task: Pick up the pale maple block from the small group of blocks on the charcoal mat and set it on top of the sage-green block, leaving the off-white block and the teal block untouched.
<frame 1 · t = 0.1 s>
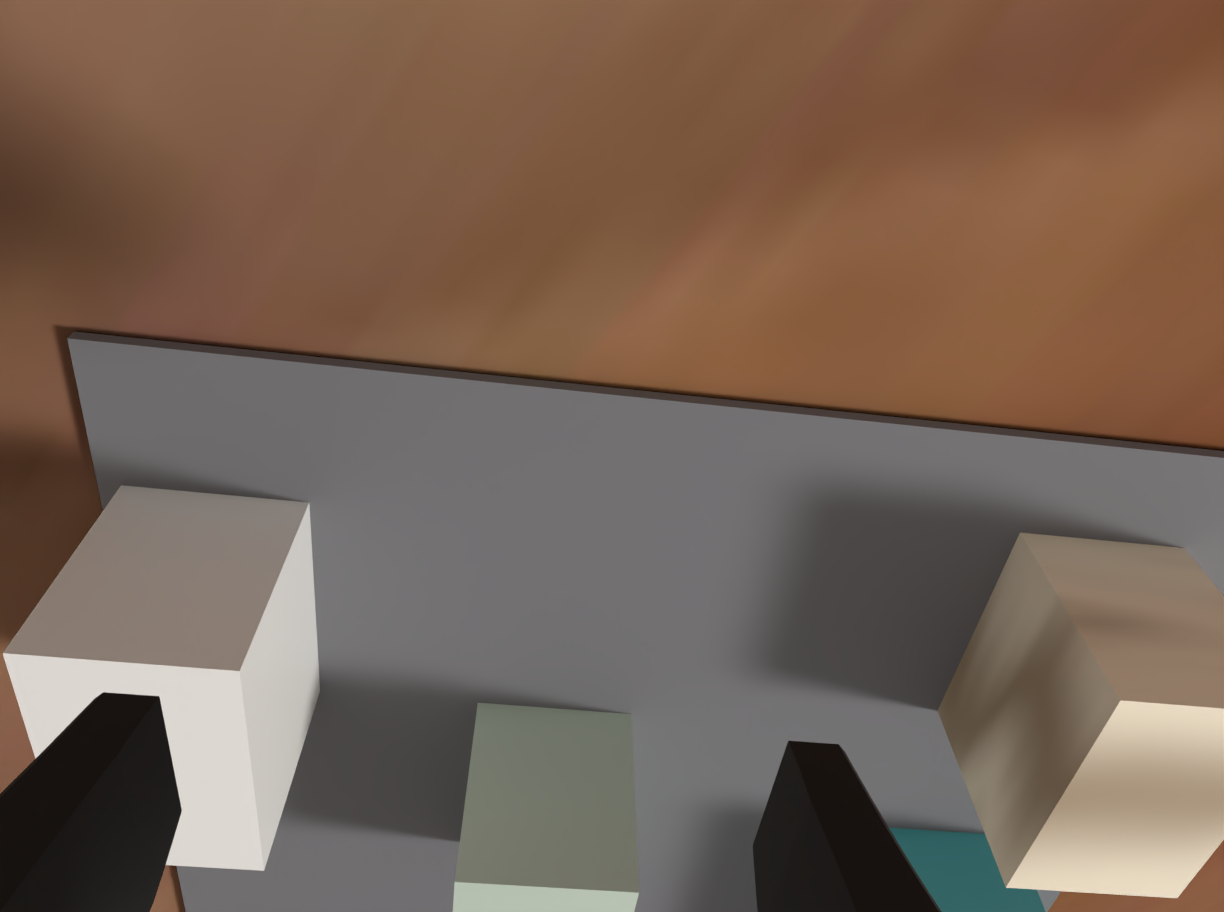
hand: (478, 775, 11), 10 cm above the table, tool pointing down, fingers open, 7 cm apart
white block: (228, 596, 23), resting on mat
mat: (662, 733, 26), on the table
sage block: (544, 782, 26), resting on mat
teal block: (918, 890, 30), resting on mat
maple block: (1053, 634, 24), resting on mat
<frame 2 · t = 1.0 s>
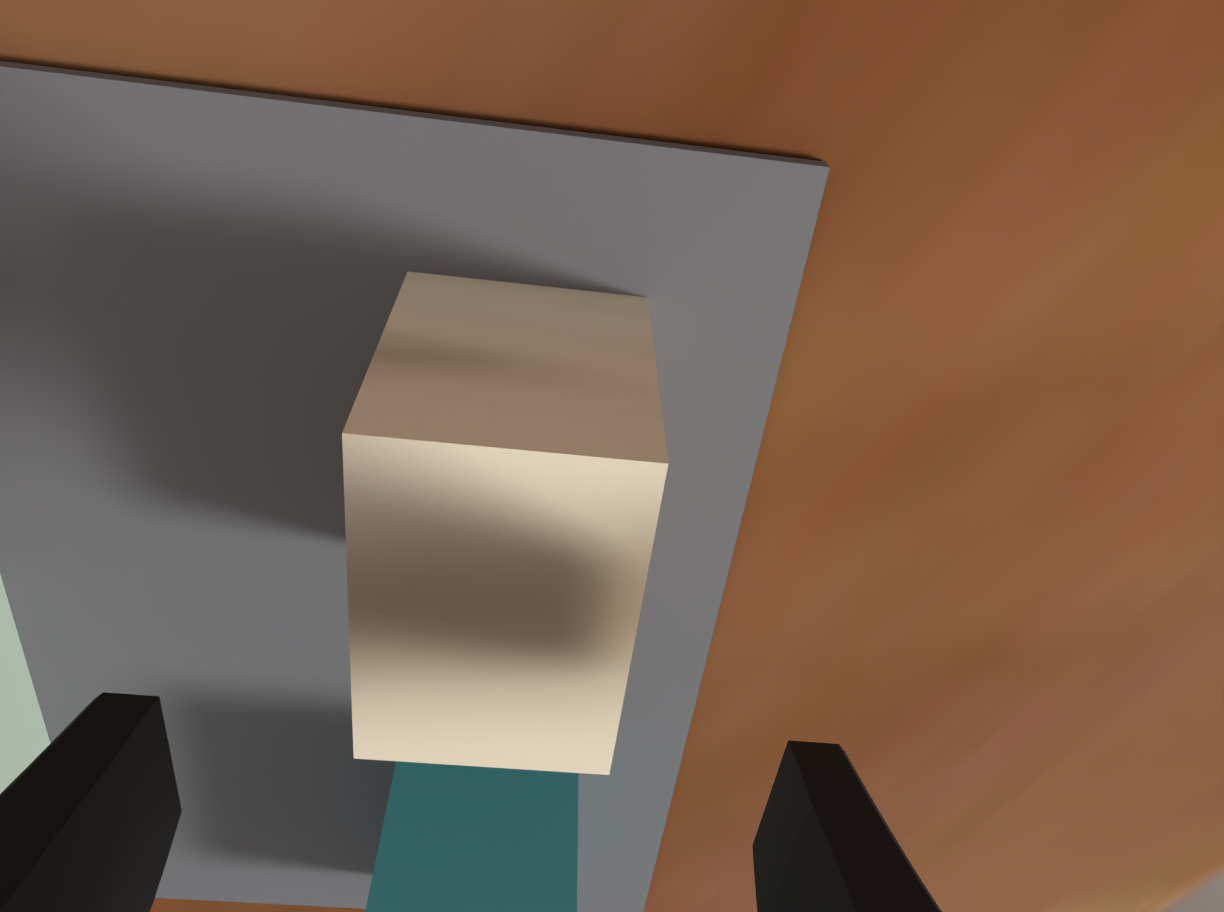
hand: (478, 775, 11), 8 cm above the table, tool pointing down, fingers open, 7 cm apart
mat: (64, 590, 20), on the table
teal block: (485, 811, 24), resting on mat
maple block: (516, 436, 18), resting on mat
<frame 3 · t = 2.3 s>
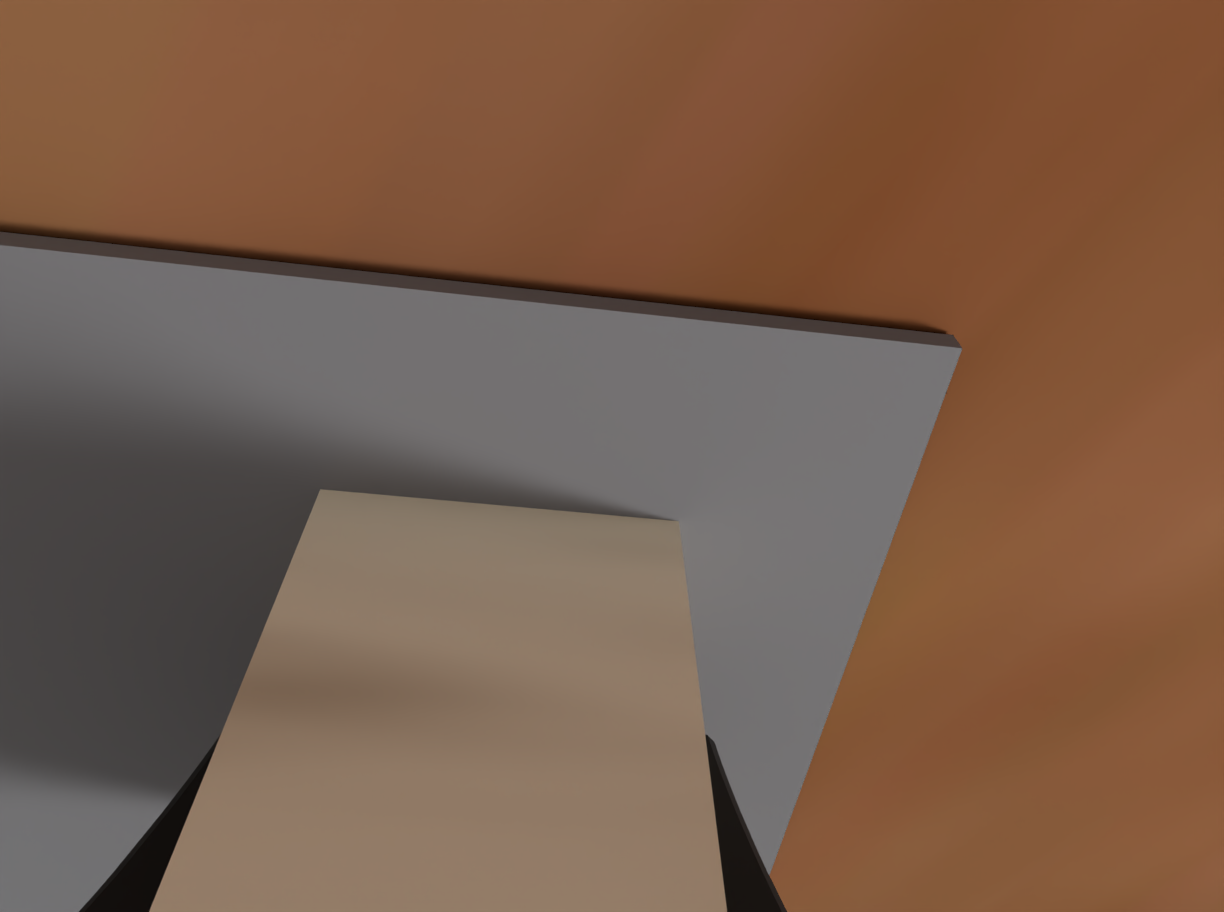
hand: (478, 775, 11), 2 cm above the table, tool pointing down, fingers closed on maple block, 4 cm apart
maple block: (488, 691, 12), resting on mat, touching gripper
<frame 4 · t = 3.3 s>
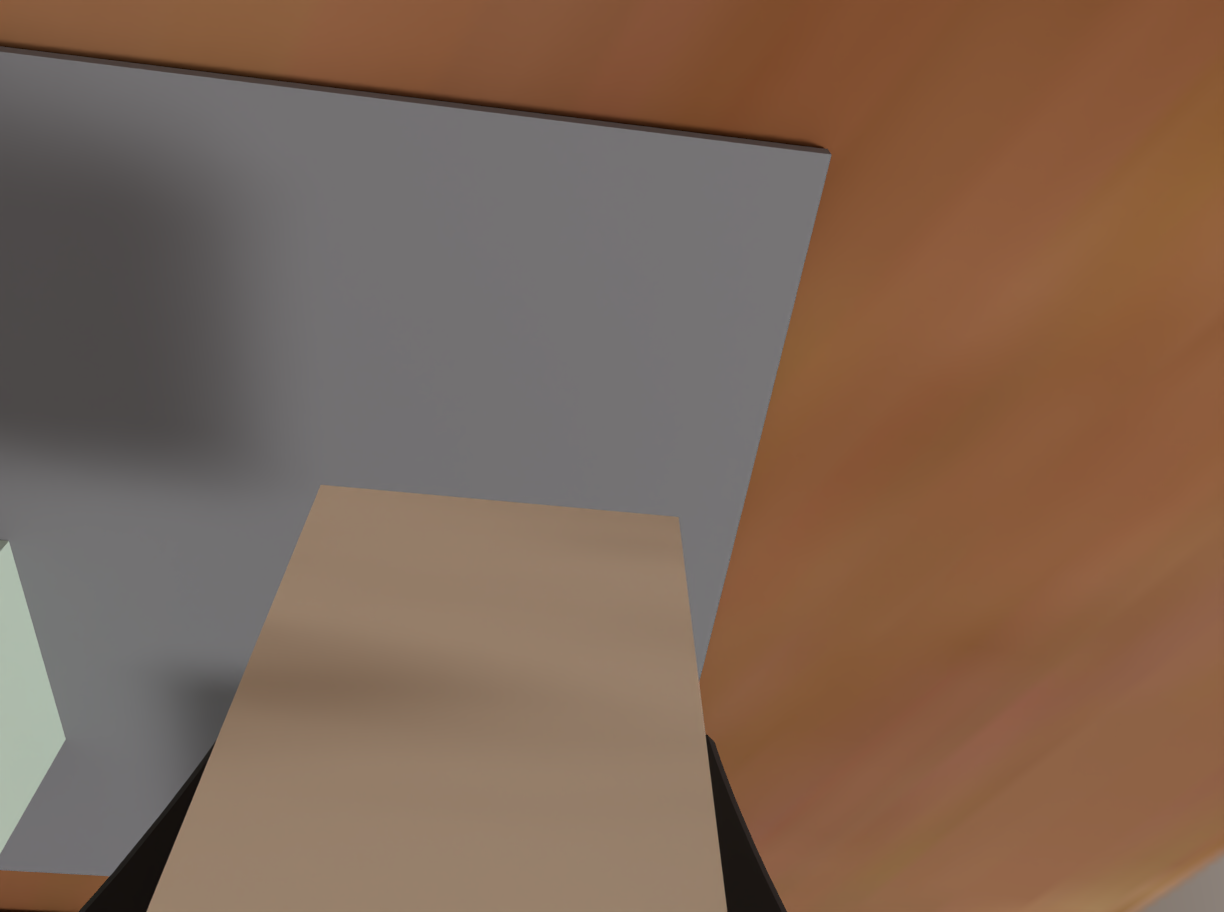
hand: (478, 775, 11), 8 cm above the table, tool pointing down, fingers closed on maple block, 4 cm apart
mat: (76, 573, 20), on the table
maple block: (488, 687, 12), point 7 cm above the table, touching gripper
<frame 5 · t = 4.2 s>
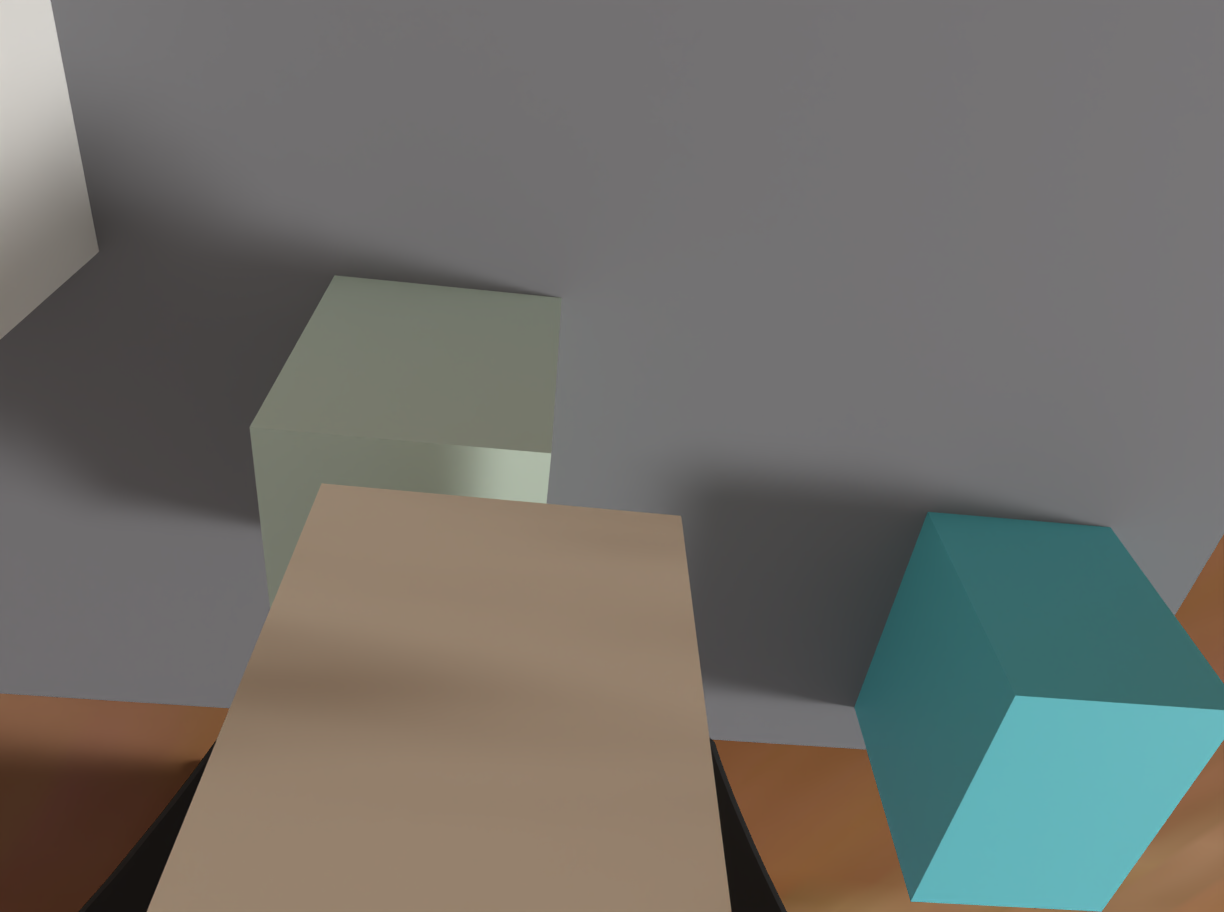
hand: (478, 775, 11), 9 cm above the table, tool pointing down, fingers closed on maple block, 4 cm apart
mat: (610, 345, 18), on the table
sage block: (445, 428, 19), resting on mat
teal block: (973, 623, 22), resting on mat
maple block: (489, 686, 12), point 8 cm above the table, touching gripper
when the fingers open (8 cm above the table, at t = 5.1 s): maple block stays where it is, resting on sage block.
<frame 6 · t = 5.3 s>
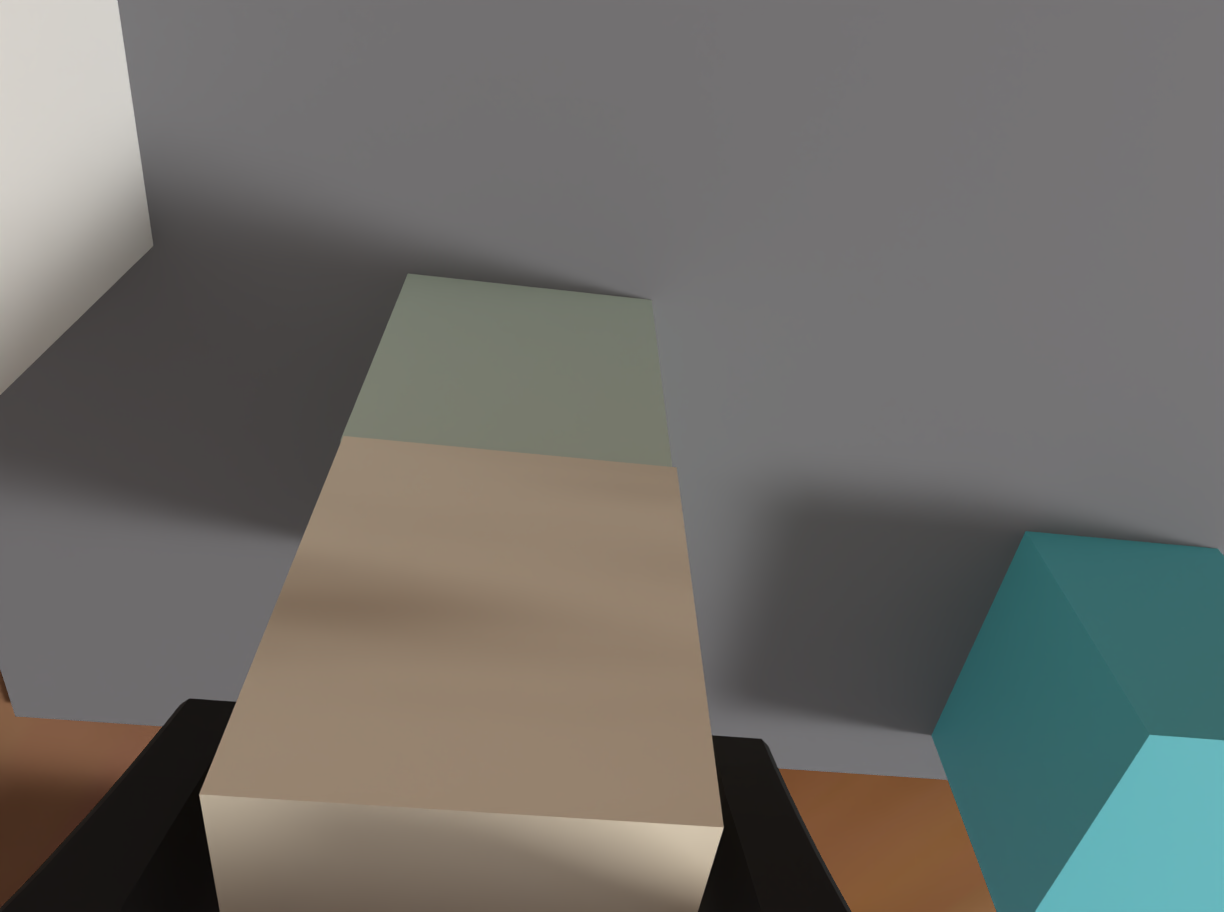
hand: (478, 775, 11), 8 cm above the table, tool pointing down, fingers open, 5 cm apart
mat: (698, 351, 17), on the table
sage block: (518, 439, 17), resting on mat, touching maple block
teal block: (1064, 648, 21), resting on mat
maple block: (497, 632, 13), point 5 cm above the table, touching sage block
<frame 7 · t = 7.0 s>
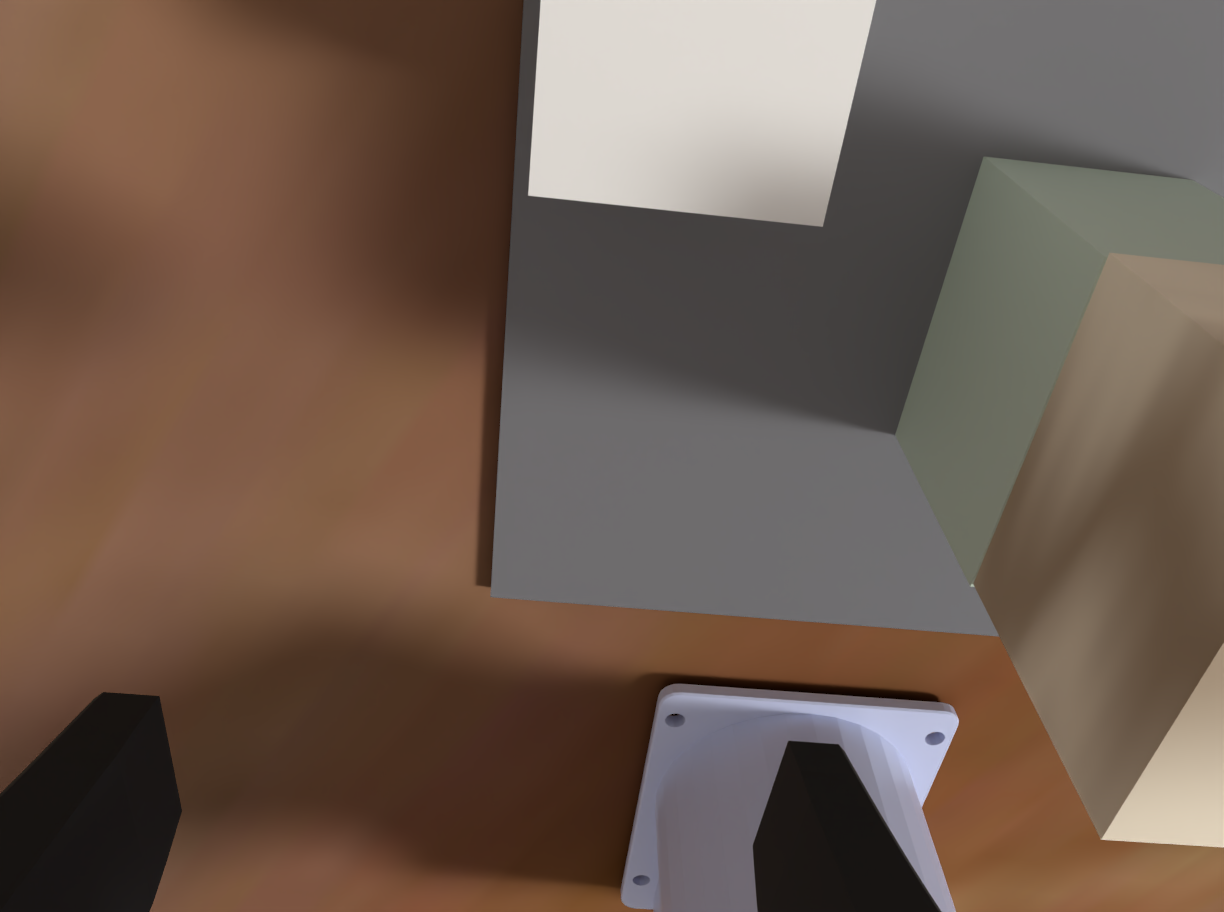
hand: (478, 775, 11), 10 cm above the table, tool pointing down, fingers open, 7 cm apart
mat: (1210, 231, 19), on the table
sage block: (1032, 317, 19), resting on mat, touching maple block
maple block: (1157, 447, 15), point 5 cm above the table, touching sage block
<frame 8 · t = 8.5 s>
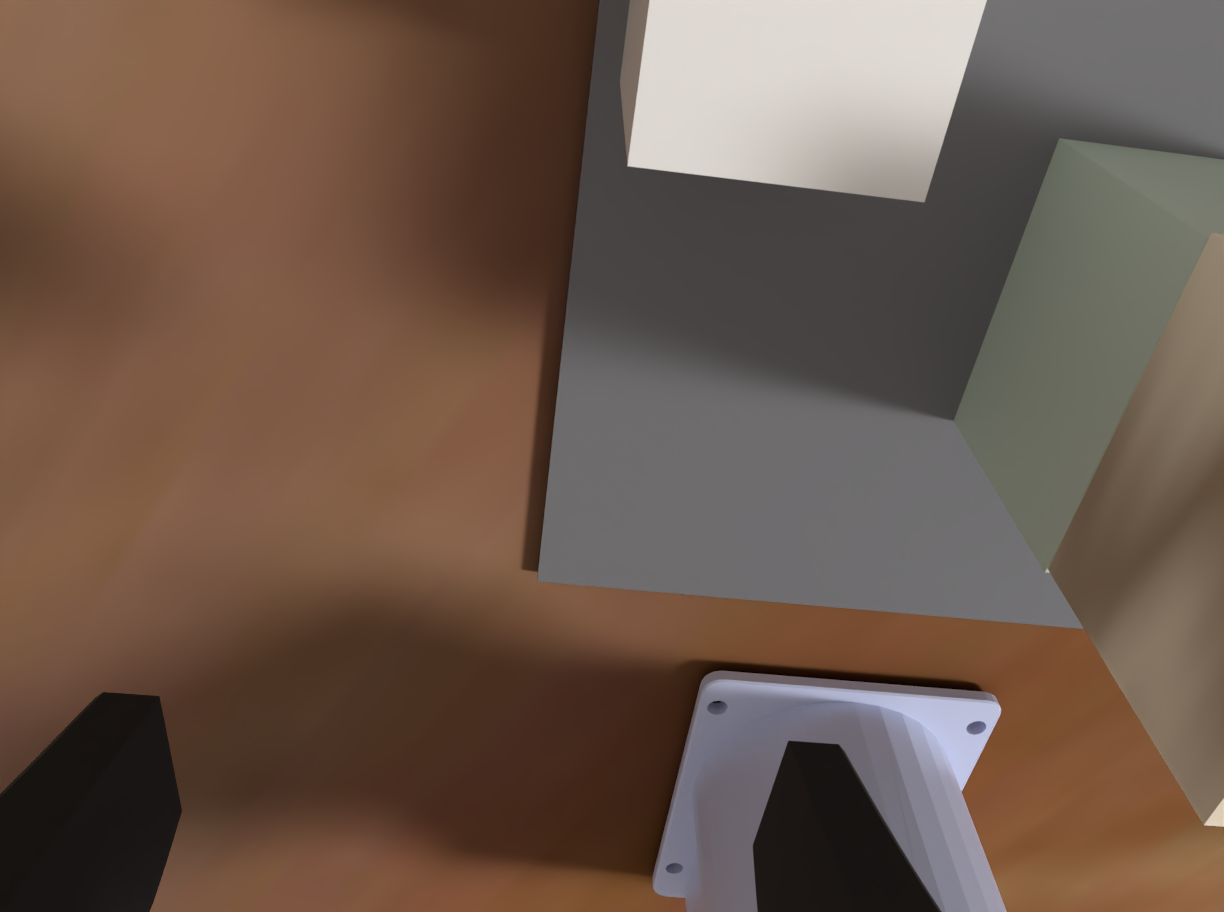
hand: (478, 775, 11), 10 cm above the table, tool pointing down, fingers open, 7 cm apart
sage block: (1098, 302, 19), resting on mat, touching maple block
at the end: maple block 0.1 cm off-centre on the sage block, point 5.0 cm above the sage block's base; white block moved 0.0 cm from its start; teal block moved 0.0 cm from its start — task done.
